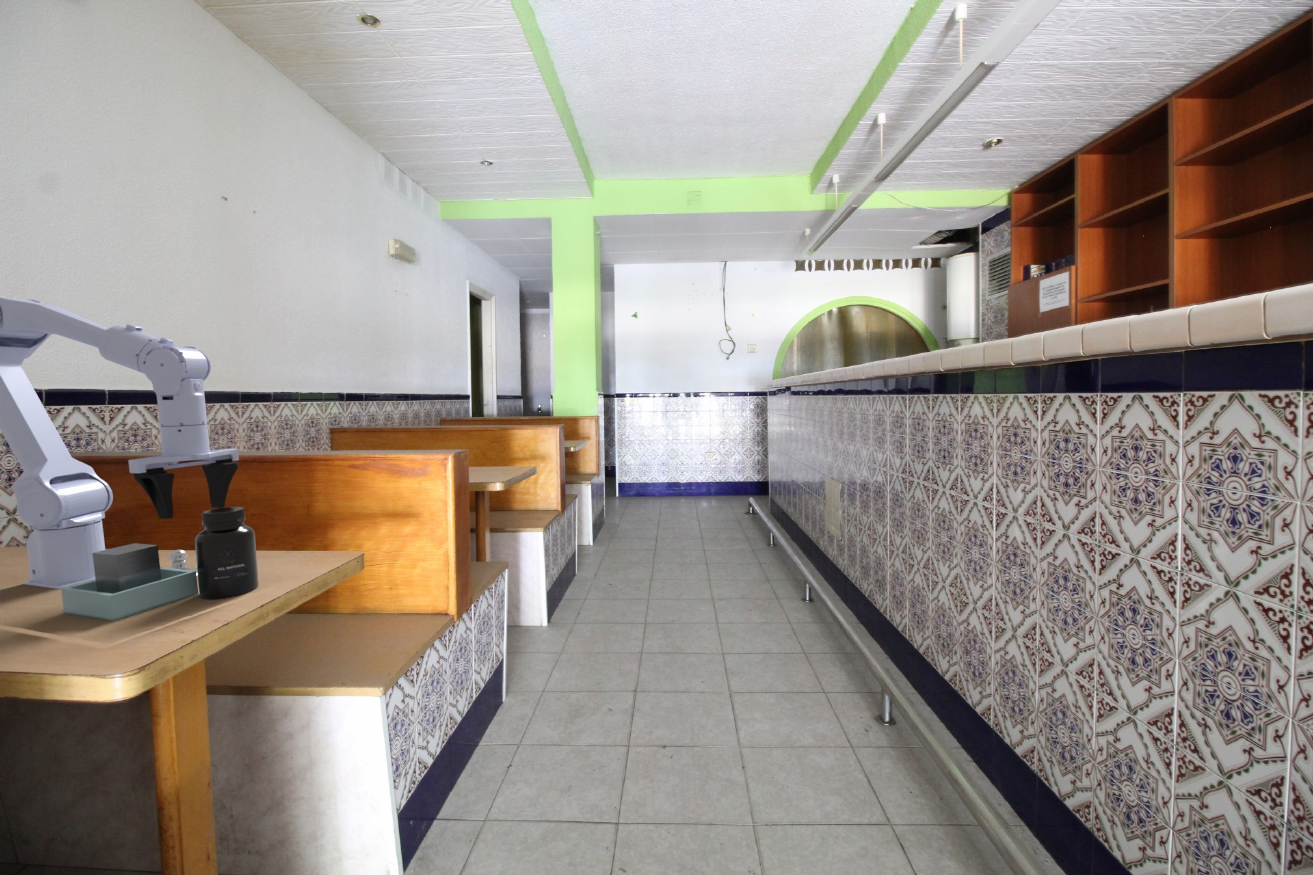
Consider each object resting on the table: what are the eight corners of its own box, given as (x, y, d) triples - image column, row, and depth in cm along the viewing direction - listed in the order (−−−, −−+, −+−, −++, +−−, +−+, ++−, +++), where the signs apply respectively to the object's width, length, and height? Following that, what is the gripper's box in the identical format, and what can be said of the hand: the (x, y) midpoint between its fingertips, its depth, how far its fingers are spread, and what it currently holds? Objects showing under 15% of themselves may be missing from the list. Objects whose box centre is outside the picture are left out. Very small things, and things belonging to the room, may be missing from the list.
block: (98, 606, 79) (92, 552, 78) (139, 593, 83) (134, 543, 83) (122, 609, 77) (116, 555, 77) (163, 596, 82) (157, 545, 81)
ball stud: (143, 581, 91) (140, 554, 90) (188, 569, 97) (185, 543, 96) (172, 585, 89) (168, 556, 88) (216, 571, 95) (213, 545, 94)
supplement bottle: (229, 603, 80) (220, 515, 79) (187, 601, 81) (178, 515, 80) (271, 586, 87) (263, 505, 86) (232, 584, 88) (224, 504, 87)
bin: (64, 615, 77) (61, 589, 77) (151, 590, 87) (148, 565, 86) (113, 623, 74) (110, 595, 74) (198, 596, 83) (196, 571, 83)
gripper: (147, 429, 83) (158, 524, 84) (248, 421, 97) (256, 504, 98) (115, 429, 85) (125, 522, 87) (218, 422, 99) (226, 502, 100)
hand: (193, 512), depth 92 cm, fingers open, 7 cm apart
